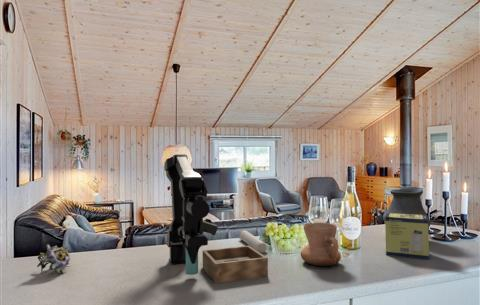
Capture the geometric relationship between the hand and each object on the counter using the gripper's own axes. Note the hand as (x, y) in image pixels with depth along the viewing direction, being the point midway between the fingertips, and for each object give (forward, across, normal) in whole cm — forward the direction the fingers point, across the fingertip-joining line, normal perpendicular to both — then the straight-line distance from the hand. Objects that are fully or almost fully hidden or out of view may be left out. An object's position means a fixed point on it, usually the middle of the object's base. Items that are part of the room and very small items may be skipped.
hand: (192, 261), depth 110 cm
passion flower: (+6, +23, +44) cm, 50 cm away
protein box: (+6, -4, -87) cm, 87 cm away
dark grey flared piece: (+6, +14, -106) cm, 107 cm away
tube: (+6, +30, -34) cm, 46 cm away
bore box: (+5, +2, -15) cm, 16 cm away
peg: (+4, 0, 0) cm, 4 cm away
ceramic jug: (+6, -2, -48) cm, 48 cm away
